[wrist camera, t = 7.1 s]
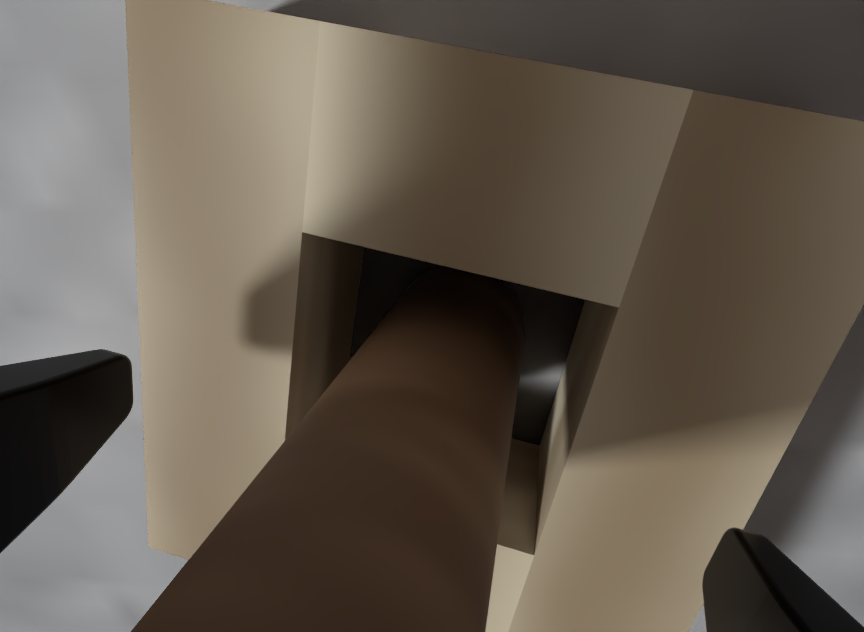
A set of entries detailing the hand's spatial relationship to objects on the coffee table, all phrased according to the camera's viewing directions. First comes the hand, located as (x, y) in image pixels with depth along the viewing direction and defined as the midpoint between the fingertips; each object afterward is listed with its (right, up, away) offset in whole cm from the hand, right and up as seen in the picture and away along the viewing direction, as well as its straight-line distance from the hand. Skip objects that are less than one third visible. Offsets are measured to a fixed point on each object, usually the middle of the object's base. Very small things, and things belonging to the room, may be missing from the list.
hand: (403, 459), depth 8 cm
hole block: (+1, +2, +5) cm, 5 cm away
